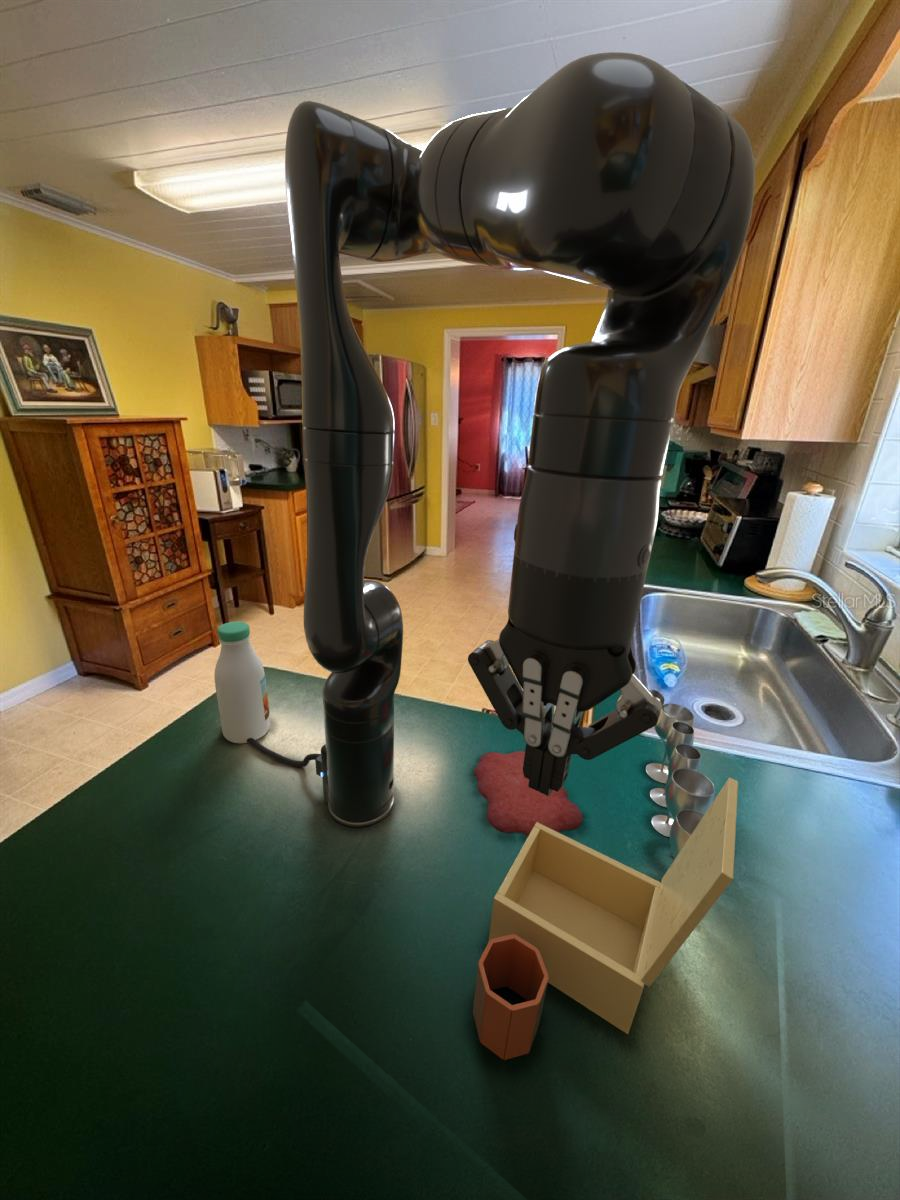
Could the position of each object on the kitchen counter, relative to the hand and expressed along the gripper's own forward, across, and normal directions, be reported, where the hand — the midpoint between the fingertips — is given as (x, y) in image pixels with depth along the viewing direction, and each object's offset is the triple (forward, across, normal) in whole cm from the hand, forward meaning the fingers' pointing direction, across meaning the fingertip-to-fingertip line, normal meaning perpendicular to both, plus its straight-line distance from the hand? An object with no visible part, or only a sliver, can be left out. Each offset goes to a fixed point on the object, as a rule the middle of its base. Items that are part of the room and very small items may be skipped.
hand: (542, 784), depth 34 cm
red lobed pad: (+29, +10, -28) cm, 42 cm away
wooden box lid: (+13, -11, -11) cm, 20 cm away
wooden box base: (+29, -3, -11) cm, 31 cm away
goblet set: (+29, -9, -34) cm, 46 cm away
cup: (+29, 0, 0) cm, 29 cm away
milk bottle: (+29, +56, -14) cm, 65 cm away
